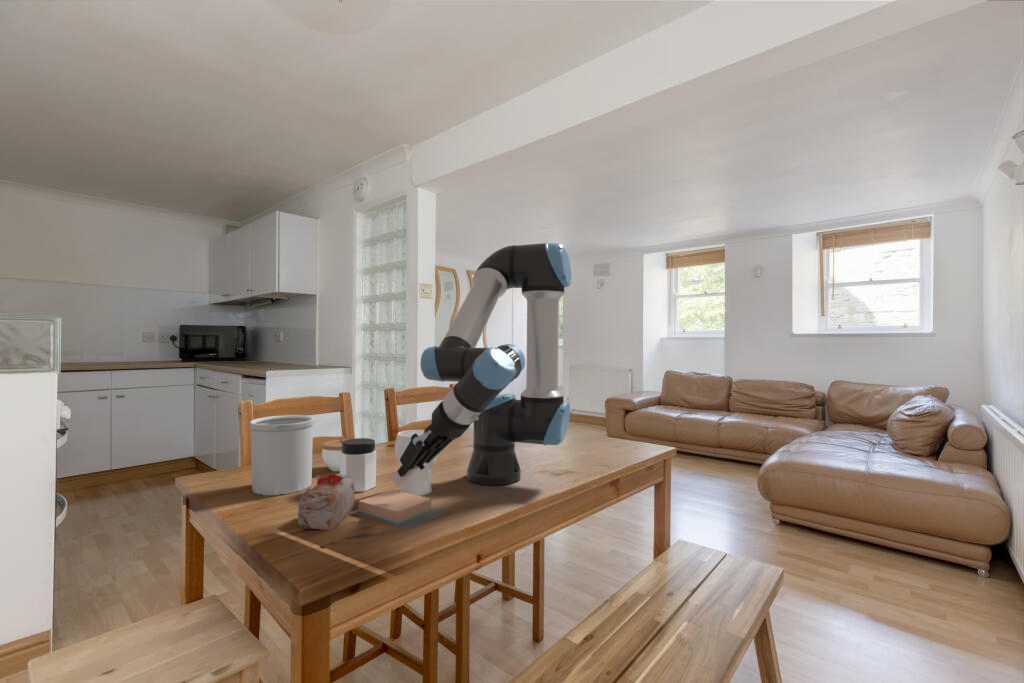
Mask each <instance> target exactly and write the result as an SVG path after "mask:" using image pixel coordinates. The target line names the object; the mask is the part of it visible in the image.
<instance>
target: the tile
mask: <svg viewBox="0 0 1024 683" xmlns="http://www.w3.org/2000/svg"><path fill="white" fill-rule="evenodd" d="M431 508H432V498H429V497H424V496H423V495H421V496H418V495H414V494H410V493H406V492H402V491H401V490H398V489H394V488H393V489H389V490H387V491H384V492H381V493H378V494H376V495H372V496H369V497H366V498H363V499H360V500H358V510H357V512H360V513H363V514H367V515H370V516H373V517H376V518H380V519H383V520H386V521H389V522H393V523H396V524H399V523H401V522H403V521H406V520H408V519H411V518H413V517H415V516H418V515H420V514H423V513H425V512H427V511H430V510H431Z"/></svg>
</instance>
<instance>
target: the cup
mask: <svg viewBox="0 0 1024 683" xmlns="http://www.w3.org/2000/svg"><path fill="white" fill-rule="evenodd" d="M424 431H425V429H409V430H403V431H400V432H398V433H397V434H396V438H395V442H394V455H395V457H396V462H397V464H398V465H399V468H400V467H401V466H402V463H401V462H400V458H401V456H402V455H403V453H404V451H405V450H406V448H407V446H408V445H409V443H410V441H411V436H412V435H413V434H417V435H419V436H420V435H422V434H423V433H424ZM437 456H438V455H437ZM437 456H435V457H434V458H433V459H432V460H431V461H430V462H429V463H426V462H425V463H424V464H423V465H424V467H425V468H424V469H422V470H420V468H419V467H418V469H417V470H416V471H415V472H414V473H413V475H412V476H411V477H410V478H409V479H408V480H407V481H406V483H405V484H404V485H403V486H401V487H400V491H402V492H406V493H410V494H414V495H418V496H426V495H428V494H430V493H432V483H431V473H432V468H433V466H434V464H435V462H436V460H437Z"/></svg>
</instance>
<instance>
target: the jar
mask: <svg viewBox="0 0 1024 683" xmlns="http://www.w3.org/2000/svg"><path fill="white" fill-rule="evenodd" d="M347 439H348V440H345V441H343V442H342V451H341V452H340V471H339V474H344V475H349V476H351V477H352V478H354V493H362V492H363V493H364V492H367V491H369V490H371V489H374V488H375V487H376V486H377V450H375V449H376V440H375V439H373V438H367V437H363V438H362V437H361V438H357V437H356V438H347Z"/></svg>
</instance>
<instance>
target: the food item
mask: <svg viewBox="0 0 1024 683" xmlns="http://www.w3.org/2000/svg"><path fill="white" fill-rule="evenodd" d="M355 501H356V499H355V492H354V478H352V477H351V476H349V475H344V474H340V473H336V474H335V473H331V474H327V475H324V476H321V475H320V474H317V475H316V485H315V486H314V487H311V486H309V487H308V488H306V490H305V491H304V492H303V495H302V496H301V497H300V500H299V502H298V503H297V506H298V511H297V512H298V513H297V517H298V519H297V523H298V526H300V529H302V528H303V529H305V530H307V529H309V530H318V531H332V530H335V529H336V528H337V526H339V525H340V523H342V522H343V521H344V519H345V518H346V517H347V516H348V515H350V513H351V511H353V510H354V508H355Z"/></svg>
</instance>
